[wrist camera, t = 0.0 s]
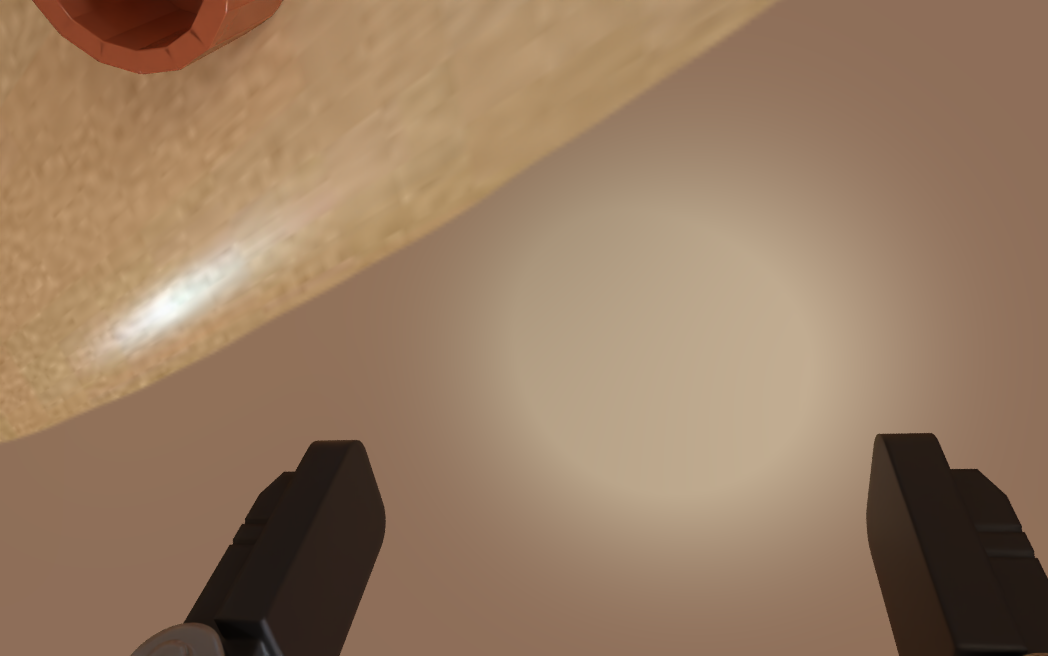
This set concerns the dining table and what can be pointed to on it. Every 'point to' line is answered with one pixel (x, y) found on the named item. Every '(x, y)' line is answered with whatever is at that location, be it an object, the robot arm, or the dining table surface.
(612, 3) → the dining table surface
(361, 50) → the dining table surface
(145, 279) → the dining table surface
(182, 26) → the cup
